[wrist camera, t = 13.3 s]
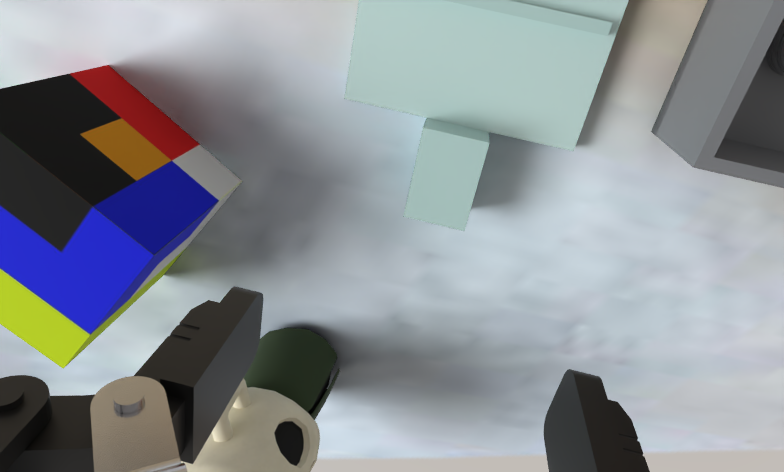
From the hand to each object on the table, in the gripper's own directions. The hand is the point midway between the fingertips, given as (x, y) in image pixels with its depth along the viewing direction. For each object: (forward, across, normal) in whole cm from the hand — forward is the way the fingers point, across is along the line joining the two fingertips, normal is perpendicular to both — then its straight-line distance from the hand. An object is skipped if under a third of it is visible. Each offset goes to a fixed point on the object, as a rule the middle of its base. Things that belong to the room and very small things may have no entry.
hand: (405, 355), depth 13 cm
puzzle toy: (+18, +19, +6) cm, 27 cm away
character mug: (+18, +7, +17) cm, 26 cm away
